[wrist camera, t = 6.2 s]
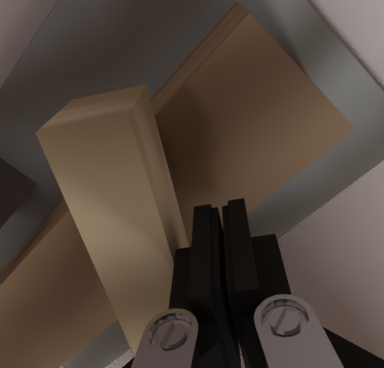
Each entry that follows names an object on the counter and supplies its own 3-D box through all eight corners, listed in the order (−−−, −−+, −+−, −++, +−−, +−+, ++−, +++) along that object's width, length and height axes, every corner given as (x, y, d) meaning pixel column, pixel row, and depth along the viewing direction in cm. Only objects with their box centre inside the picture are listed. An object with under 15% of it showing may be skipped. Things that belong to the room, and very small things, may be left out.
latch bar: (237, 377, 18) (241, 440, 16) (166, 384, 19) (160, 445, 16) (165, 80, 11) (152, 109, 9) (54, 103, 12) (13, 137, 9)
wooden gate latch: (412, 130, 19) (550, 232, 11) (94, 369, 29) (55, 504, 22) (170, -157, 14) (124, -323, 6) (-108, 259, 24) (-248, 385, 17)
